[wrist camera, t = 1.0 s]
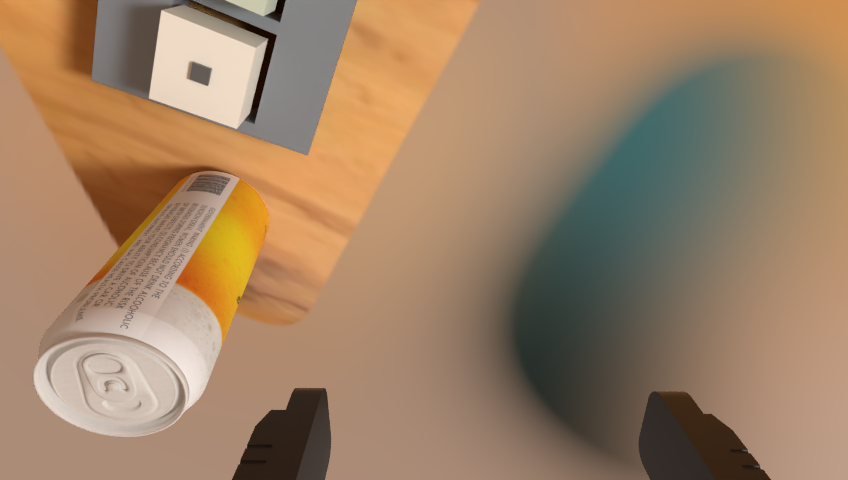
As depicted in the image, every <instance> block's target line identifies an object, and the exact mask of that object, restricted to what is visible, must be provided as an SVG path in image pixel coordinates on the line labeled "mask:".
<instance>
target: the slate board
mask: <svg viewBox="0 0 848 480" xmlns="http://www.w3.org/2000/svg"><path fill="white" fill-rule="evenodd" d="M193 1H195V2H198V3H200V4H202V5H205V6H207V7H210V8H212V9H215V10H217V11H220V12H222V13H224V14H227V15H229V16H232V17H234V18H237V19H239V20H242V21H244V22H246V23H249V24H251V25H254V26H256V27H259V28H261V29H263V30H266V31H268V32H271V33H273V34H276V35H277V37H276V41H275V45H274V49H273V53H272V57H271V61H270V65H269V69H268V73H267V77H266V81H265V85H264V89H263V93H262V96H261V100H260V104H259V108H258V109H256V108H253V107H251V111H250V114H249V115H248V116H247V117H246V118H245V120H244V121H243V122H242V123H241V125H240V126H239V127H238V128H237V129H235V128H232V127H230V126H227V125H224V124H221V123H218V122H215V121H212V120H209V119H207V118H204V117H201V116H198V115H195V114H192V113H189V112H187V111H184V110H181V109H178V108H175V107H172V106H169V105H167V104H164V103H161V102H158V101H155V100H152V99H149V93H150V86H151V79H152V72H153V65H154V58H155V51H156V44H157V37H158V30H159V23H160V16H161V10H165V9H169V8H173V7H177V6H181V5H186V6H188V7H189V5H190V0H98V8H97V20H96V31H95V43H94V55H93V67H92V79H91V80H92V81H95V82H98V83H101V84H104V85H107V86H109V87H112V88H115V89H118V90H121V91H124V92H127V93H130V94H132V95H135V96H138V97H141V98H144V99H147V100H150V101H152V102H155V103H158V104H161V105H164V106H167V107H170V108H173V109H175V110H178V111H181V112H184V113H187V114H190V115H193V116H196V117H198V118H201V119H204V120H207V121H210V122H213V123H216V124H218V125H221V126H224V127H227V128H230V129H233V130H236V131H239V132H241V133H244V134H247V135H250V136H253V137H256V138H259V139H261V140H264V141H267V142H270V143H273V144H276V145H279V146H282V147H284V148H287V149H290V150H293V151H296V152H299V153H302V154H304V155H308V153H309V150H310V147H311V144H312V141H313V138H314V135H315V132H316V129H317V125H318V122H319V119H320V116H321V113H322V110H323V106H324V103H325V100H326V97H327V94H328V91H329V88H330V84H331V81H332V78H333V75H334V72H335V69H336V65H337V62H338V59H339V56H340V53H341V50H342V46H343V43H344V40H345V37H346V34H347V31H348V28H349V24H350V21H351V18H352V15H353V12H354V9H355V5H356V2H357V0H286V2H285V5H284V9H283V13H282V15H281V14H279V13H277V12H274V11H273V12H271V13H269V14H267V15H265V16H261V15H259V14H257V13H254V12H252V11H249V10H247V9H245V8H242V7H240V6H238V5H235V4H233V3H230V2H228V1H226V0H193Z"/></svg>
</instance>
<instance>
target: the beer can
mask: <svg viewBox="0 0 848 480" xmlns="http://www.w3.org/2000/svg"><path fill="white" fill-rule="evenodd" d="M268 228H269V214H268V210H267V207H266V204H265V202H264V201H263V199H262V197H261V196H260V195H259V193H258V192H257V191H256V190H255V189H254V188H253V187H252V186H251V185H249V184H248V183H247V182H245V181H244V180H242V179H240V178H238V177H236V176H234V175H231V174H228V173H224V172H219V171H202V172H197V173H193V174H191V175H188V176H186V177H185V178H183V179H182V180H180V181H179V182H178V183H177V184H176V185H175V186H174V187H173V189H172V190H171V191H170V192H169V193H168V194H167V195H166V196H165V198H164V199H163V200H162V201H161V202H160V203H159V204H158V205H157V207H156V208H155V209H154V210H153V211H152V212H151V213H150V214H149V216H148V217H147V218H146V219H145V220H144V221H143V222H142V223H141V225H140V226H139V227H138V228H137V229H136V230H135V231H134V232H133V234H132V235H131V236H130V237H129V238H128V239H127V240H126V241H125V243H124V244H123V245H122V246H121V247H120V248H119V249H118V250H117V252H116V253H115V254H114V255H113V256H112V257H111V258H110V259H109V261H108V262H107V263H106V264H105V265H104V266H103V267H102V269H101V270H100V271H99V272H98V273H97V274H96V275H95V276H94V278H93V279H92V280H91V281H90V282H89V283H88V284H87V285H86V287H85V288H84V289H83V290H82V291H81V292H80V293H79V294H78V296H77V297H76V298H75V299H74V300H73V301H72V302H71V303H70V305H69V306H68V307H67V308H66V309H65V310H64V311H63V312H62V314H61V315H60V316H59V317H58V318H57V319H56V320H55V321H54V323H53V324H52V325H51V326H50V327H49V328H48V329H47V331H46V332H45V334H44V335H43V337H42V340H41V342H40V347H39V354H38V360H37V362H36V364H35V367H34V370H33V383H34V387H35V389H36V392H37V394H38V396H39V397H40V399H41V400H42V401H43V403H44V404H45V405H46V406H47V407H48V408H49V409H50V410H51V411H52V412H53V413H55V414H56V415H58V416H59V417H60V418H62V419H64V420H65V421H67V422H69V423H71V424H73V425H75V426H77V427H79V428H82V429H85V430H88V431H91V432H94V433H98V434H103V435H109V436H118V437H135V436H143V435H148V434H152V433H156V432H158V431H161V430H163V429H165V428H167V427H169V426H170V425H172V424H173V423H175V421H177V420H178V419H179V418H180V417H181V415H182V414H183V412H184V411H186V410H187V409H188V408H189V407H191V406H192V405H193V404H194V403H195V402H196V401H197V400H198V399H199V398H200V396H201V395H202V393H203V392H204V389H205V387H206V384H207V382H208V380H209V377H210V374H211V372H212V369H213V367H214V364H215V362H216V359H217V357H218V354H219V352H220V349H221V347H222V344H223V342H224V339H225V337H226V334H227V332H228V329H229V327H230V324H231V322H232V319H233V317H234V314H235V312H236V309H237V307H238V304H239V302H240V299H241V297H242V294H243V292H244V289H245V287H246V284H247V282H248V279H249V277H250V274H251V272H252V269H253V267H254V264H255V262H256V259H257V257H258V254H259V252H260V249H261V247H262V244H263V242H264V239H265V237H266V234H267V232H268Z"/></svg>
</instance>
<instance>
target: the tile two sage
mask: <svg viewBox="0 0 848 480" xmlns="http://www.w3.org/2000/svg"><path fill="white" fill-rule="evenodd" d="M226 1H228V2H230V3H233V4H235V5H238V6H240V7H242V8H245V9H247V10H249V11H252V12H254V13H257V14H259V15H261V16H265V15H267V14H269V13H271V12H273V11H275V9H276V5H277V1H278V0H226Z"/></svg>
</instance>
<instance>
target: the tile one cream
mask: <svg viewBox="0 0 848 480" xmlns="http://www.w3.org/2000/svg"><path fill="white" fill-rule="evenodd" d="M267 41H268V39H267V38H265V37H262V36H260V35H257V34H255V33H252V32H250V31H247V30H245V29H242V28H240V27H237V26H235V25H232V24H230V23H228V22H225V21H223V20H220V19H218V18H215V17H213V16H210V15H208V14H205V13H203V12H200V11H198V10H196V9H193V8H191V7H188V6H186V5H181V6H177V7H173V8H169V9H165V10H161V16H160V23H159V30H158V37H157V44H156V51H155V58H154V65H153V72H152V79H151V86H150V93H149V99H152V100H155V101H158V102H161V103H164V104H167V105H169V106H172V107H175V108H178V109H181V110H184V111H187V112H189V113H192V114H195V115H198V116H201V117H204V118H207V119H209V120H212V121H215V122H218V123H221V124H224V125H227V126H230V127H232V128H235V129H237V128H238V127H239V126H240V125H241V123H242V122H243V121H244V120H245V118H246V117H247V116H248V115H249V114H250V111H251V107H252V102H253V98H254V94H255V90H256V86H257V82H258V78H259V74H260V70H261V66H262V62H263V58H264V54H265V49H266V45H267Z"/></svg>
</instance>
